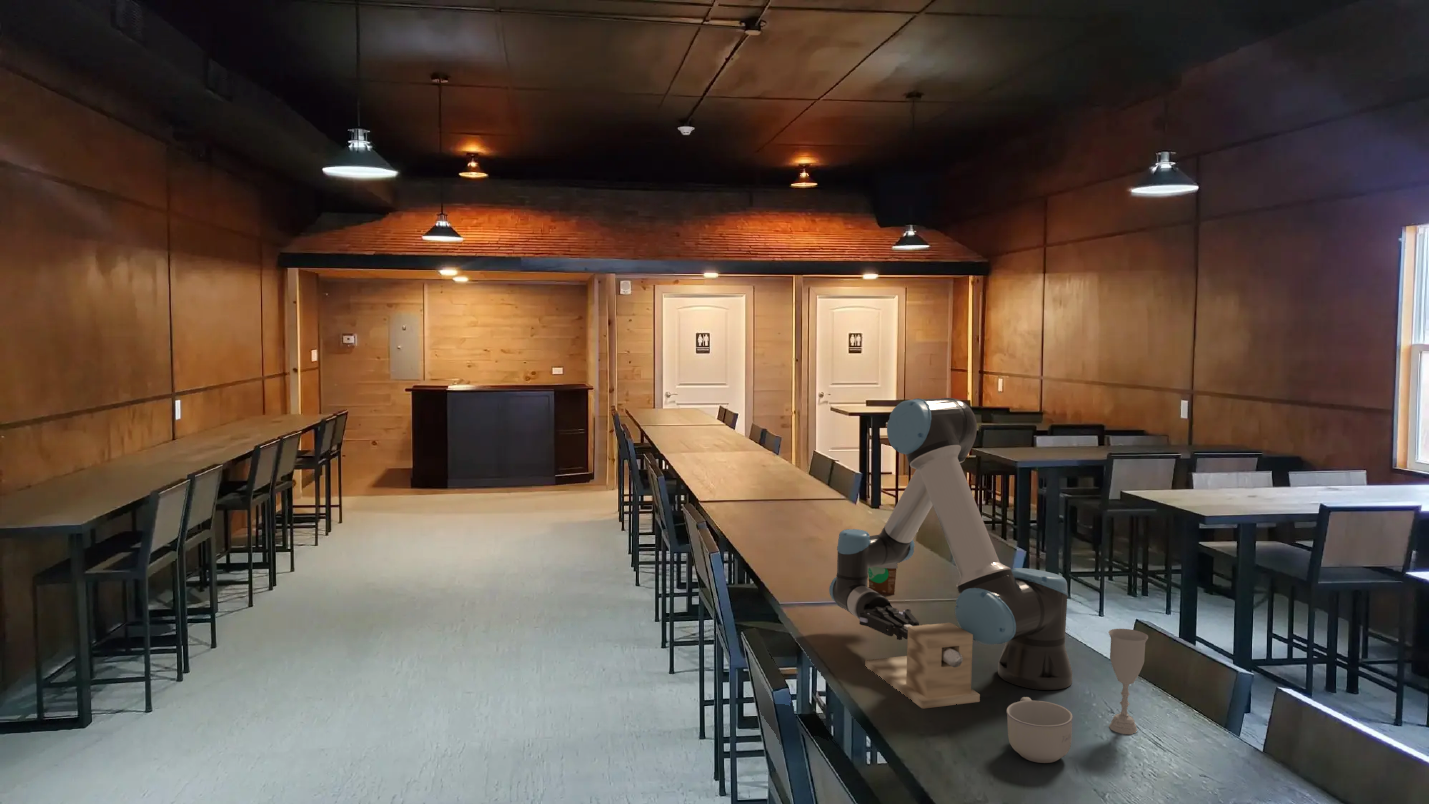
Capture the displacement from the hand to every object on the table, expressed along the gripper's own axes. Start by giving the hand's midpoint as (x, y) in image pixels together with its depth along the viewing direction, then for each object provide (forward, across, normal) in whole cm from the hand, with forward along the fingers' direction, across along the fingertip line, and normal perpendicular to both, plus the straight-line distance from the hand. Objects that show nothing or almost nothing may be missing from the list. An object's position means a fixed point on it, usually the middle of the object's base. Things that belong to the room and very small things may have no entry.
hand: (922, 640), depth 194 cm
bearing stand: (-2, 0, -9) cm, 10 cm away
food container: (-67, -25, -11) cm, 73 cm away
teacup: (+34, -4, -9) cm, 35 cm away
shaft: (+6, 0, -3) cm, 7 cm away
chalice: (+30, -26, -9) cm, 40 cm away
